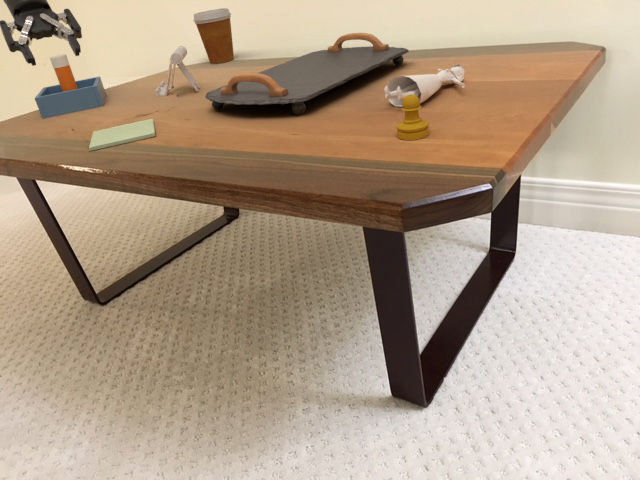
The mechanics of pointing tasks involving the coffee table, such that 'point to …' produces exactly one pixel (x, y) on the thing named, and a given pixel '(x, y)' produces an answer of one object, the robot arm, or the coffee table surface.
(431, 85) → the woman figurine
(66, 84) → the glue stick
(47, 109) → the box
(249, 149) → the coffee table surface
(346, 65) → the serving tray
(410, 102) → the chess piece
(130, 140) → the mat
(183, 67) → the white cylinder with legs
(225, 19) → the disposable coffee cup
